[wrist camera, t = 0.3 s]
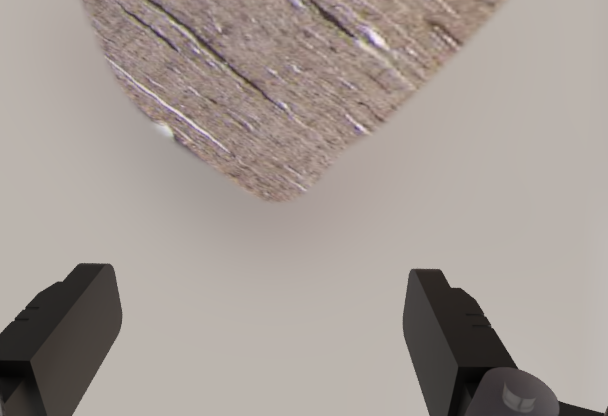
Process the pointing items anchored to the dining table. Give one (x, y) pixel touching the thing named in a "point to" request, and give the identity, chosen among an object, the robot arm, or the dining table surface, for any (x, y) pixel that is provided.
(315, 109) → the dining table surface
